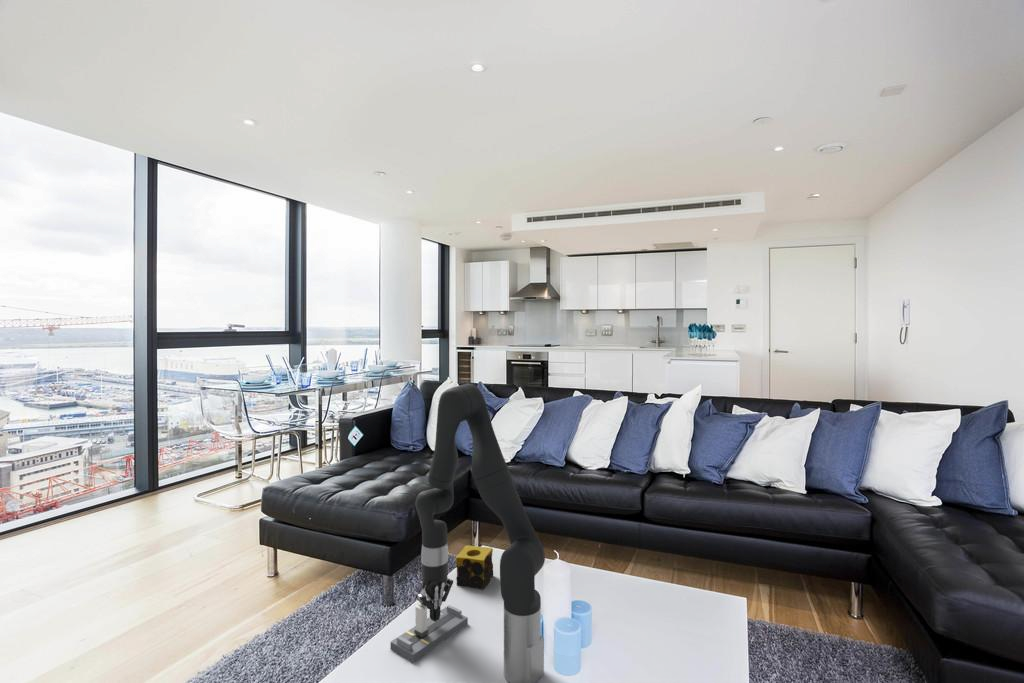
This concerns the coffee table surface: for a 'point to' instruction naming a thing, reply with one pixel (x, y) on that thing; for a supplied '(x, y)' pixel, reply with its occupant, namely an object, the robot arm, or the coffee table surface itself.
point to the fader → (421, 620)
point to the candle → (474, 567)
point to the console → (429, 634)
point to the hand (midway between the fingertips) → (435, 619)
